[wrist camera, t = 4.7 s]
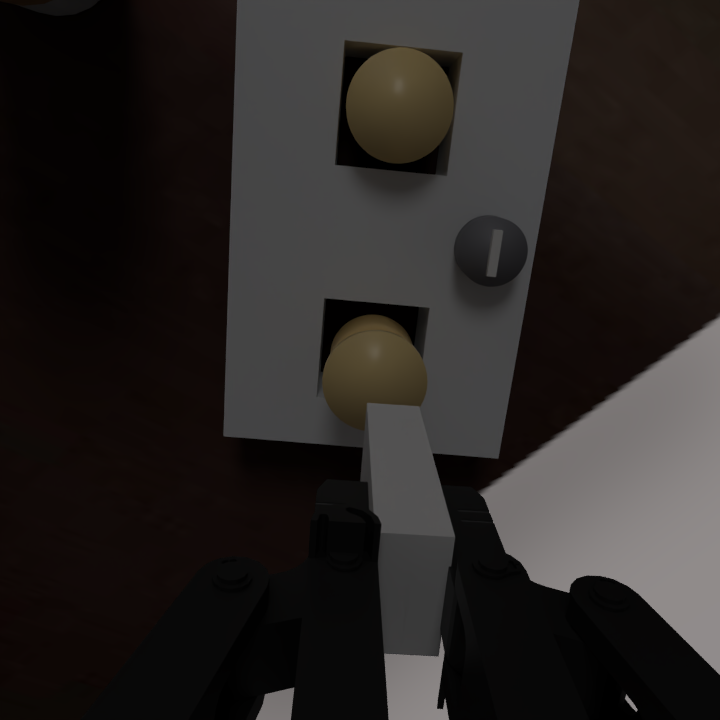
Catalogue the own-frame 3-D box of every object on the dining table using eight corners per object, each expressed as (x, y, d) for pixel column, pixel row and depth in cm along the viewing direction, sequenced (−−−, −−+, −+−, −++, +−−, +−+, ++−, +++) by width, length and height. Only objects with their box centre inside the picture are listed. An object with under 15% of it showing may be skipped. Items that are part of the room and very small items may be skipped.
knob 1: (342, 159, 30) (341, 158, 26) (351, 58, 28) (351, 41, 25) (433, 168, 30) (446, 168, 26) (446, 68, 29) (461, 53, 25)
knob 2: (322, 394, 30) (318, 427, 26) (329, 306, 29) (326, 327, 25) (412, 401, 30) (420, 435, 27) (423, 314, 29) (433, 337, 25)
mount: (237, 406, 35) (215, 451, 29) (253, -13, 29) (230, -56, 23) (482, 427, 36) (506, 475, 30) (550, 19, 29) (596, -15, 24)
